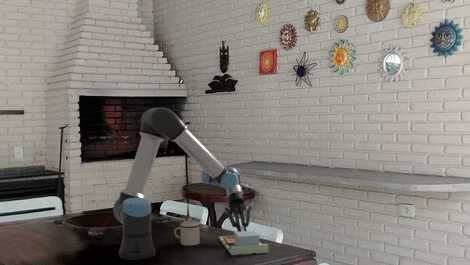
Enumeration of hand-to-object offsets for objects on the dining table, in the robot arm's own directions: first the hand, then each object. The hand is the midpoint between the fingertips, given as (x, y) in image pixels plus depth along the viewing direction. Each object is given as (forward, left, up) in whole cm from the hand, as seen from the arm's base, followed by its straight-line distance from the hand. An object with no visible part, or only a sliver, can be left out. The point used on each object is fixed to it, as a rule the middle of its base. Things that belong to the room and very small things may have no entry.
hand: (243, 239), depth 225 cm
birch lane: (-2, +2, -3) cm, 4 cm away
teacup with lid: (-25, -10, -4) cm, 27 cm away
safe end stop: (+9, -7, -3) cm, 11 cm away
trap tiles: (-10, +8, -3) cm, 13 cm away
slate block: (+4, -4, -4) cm, 7 cm away
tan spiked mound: (-51, +17, -4) cm, 54 cm away
